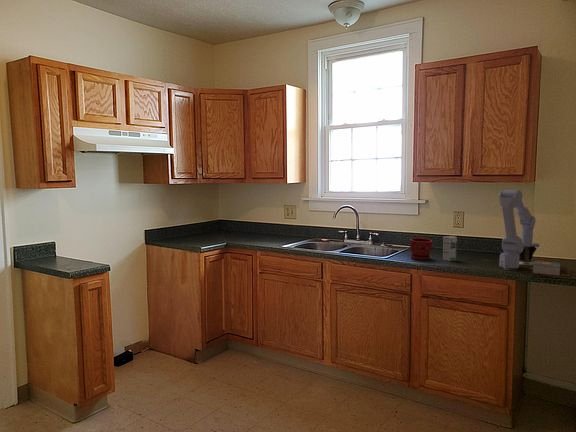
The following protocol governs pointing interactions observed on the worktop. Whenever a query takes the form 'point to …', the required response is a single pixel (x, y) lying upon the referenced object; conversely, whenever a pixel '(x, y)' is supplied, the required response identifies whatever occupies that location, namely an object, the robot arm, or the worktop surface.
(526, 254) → the brown rectangular block
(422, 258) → the plant pot
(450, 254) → the syrup box
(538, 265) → the switch box
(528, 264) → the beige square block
